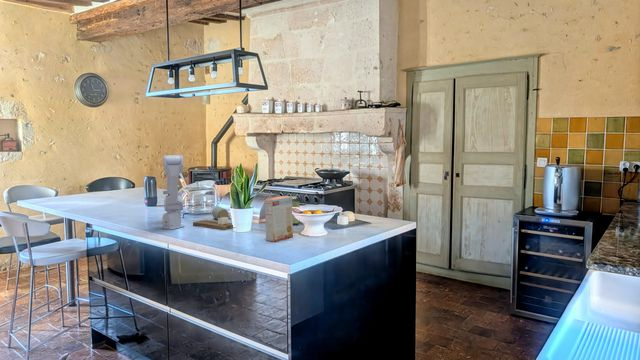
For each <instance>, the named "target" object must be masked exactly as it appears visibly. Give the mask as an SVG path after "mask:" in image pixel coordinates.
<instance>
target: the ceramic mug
mask: <svg viewBox="0 0 640 360" xmlns="http://www.w3.org/2000/svg"><path fill="white" fill-rule="evenodd" d="M211 215H212V217H213V218H214V219H215V220H218V218H222V217H228V219H231V218H230V216H231V215H229V212H228V210H227V209H226V208H224V207H221V206H218V205H217V206H215V207H214V208H213V209H212V211H211Z"/></svg>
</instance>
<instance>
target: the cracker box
mask: <svg viewBox="0 0 640 360" xmlns="http://www.w3.org/2000/svg"><path fill="white" fill-rule="evenodd" d="M273 197H274V198H273ZM273 197H269V198H264V215H265V221H264V222H265V241H268V242H273V243H275V241H276V242H278V241H279V242H280V241H282V240H286V239H290V238H293V237H294V228H293V227H294V226H293V215H292V197H293V196H291V195H282V196H281V195H279V196H273Z"/></svg>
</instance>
